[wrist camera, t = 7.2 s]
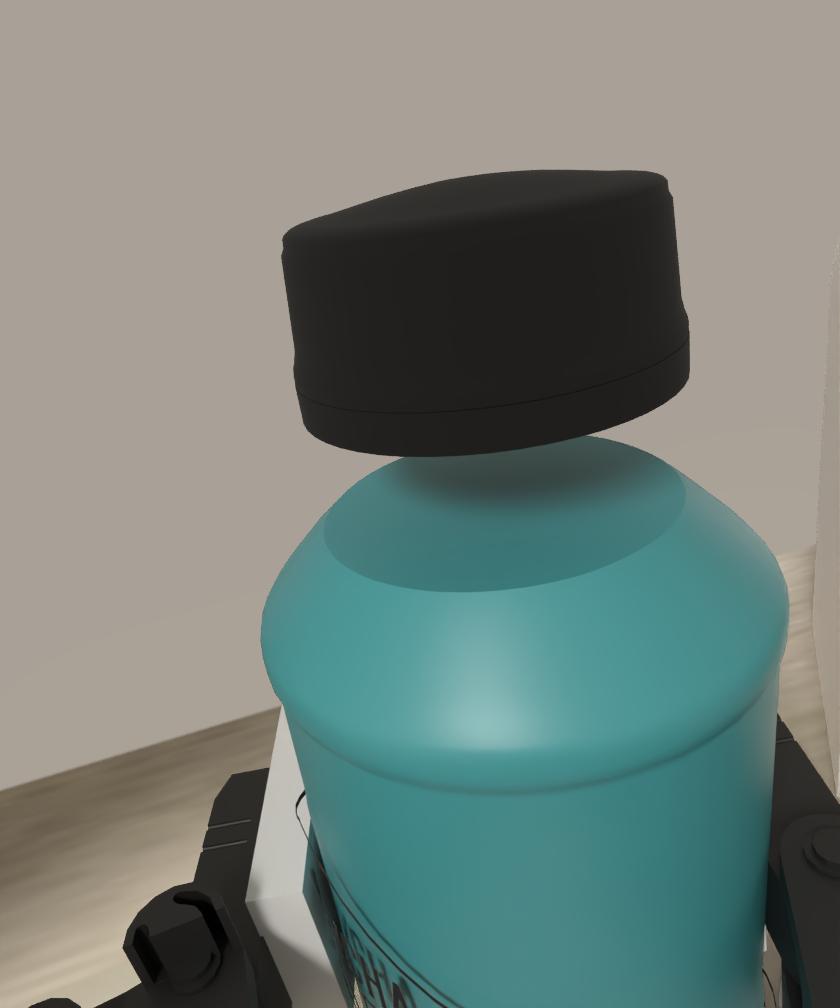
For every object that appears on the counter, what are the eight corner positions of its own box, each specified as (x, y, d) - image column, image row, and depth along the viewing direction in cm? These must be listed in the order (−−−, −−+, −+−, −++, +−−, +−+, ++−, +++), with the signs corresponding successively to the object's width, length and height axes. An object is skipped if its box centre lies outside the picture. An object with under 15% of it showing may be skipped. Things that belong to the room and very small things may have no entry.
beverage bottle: (557, 999, 20) (457, 164, 12) (823, 1224, 16) (961, 97, 7) (361, 1227, 17) (23, 248, 8) (632, 1614, 12) (466, 226, 4)
